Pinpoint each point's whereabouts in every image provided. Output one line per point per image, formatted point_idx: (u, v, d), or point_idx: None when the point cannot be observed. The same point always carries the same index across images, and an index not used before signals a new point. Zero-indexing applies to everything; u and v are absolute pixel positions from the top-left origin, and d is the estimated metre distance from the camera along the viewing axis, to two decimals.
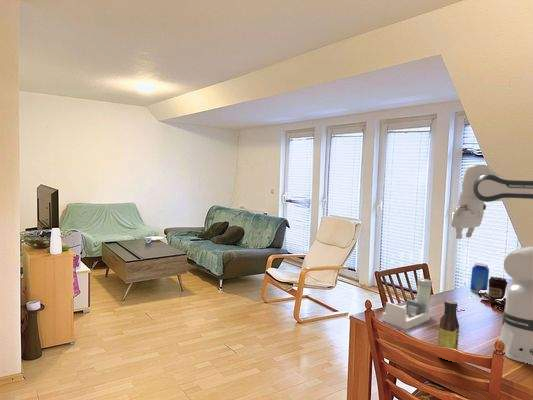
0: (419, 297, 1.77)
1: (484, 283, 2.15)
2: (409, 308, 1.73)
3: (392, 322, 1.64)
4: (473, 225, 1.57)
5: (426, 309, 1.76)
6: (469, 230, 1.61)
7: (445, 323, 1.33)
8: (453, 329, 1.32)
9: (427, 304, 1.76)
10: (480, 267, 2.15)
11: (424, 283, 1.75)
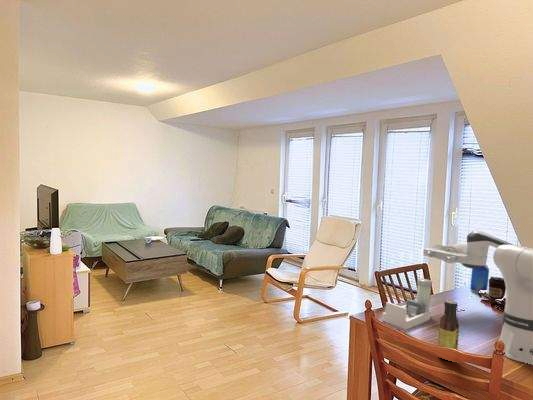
0: (419, 297, 1.77)
1: (484, 283, 2.15)
2: (409, 308, 1.73)
3: (392, 322, 1.64)
4: (437, 258, 1.90)
5: (426, 309, 1.76)
6: None
7: (445, 323, 1.33)
8: (453, 329, 1.32)
9: (427, 304, 1.76)
10: None
11: (424, 283, 1.75)
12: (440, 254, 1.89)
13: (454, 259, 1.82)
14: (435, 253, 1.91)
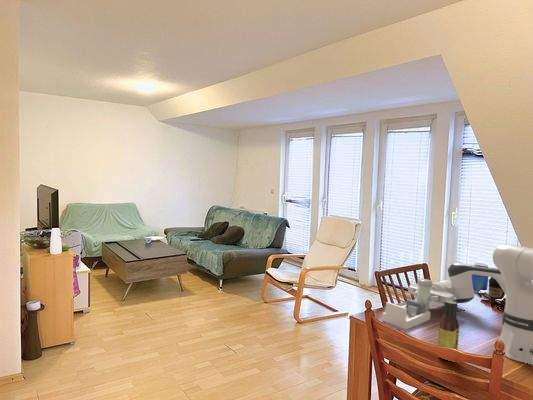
0: (419, 297, 1.77)
1: (484, 283, 2.15)
2: (409, 308, 1.73)
3: (392, 322, 1.64)
4: None
5: (426, 309, 1.76)
6: None
7: (445, 323, 1.33)
8: (453, 329, 1.32)
9: (427, 304, 1.76)
10: None
11: (424, 283, 1.75)
12: None
13: (436, 299, 1.76)
14: None
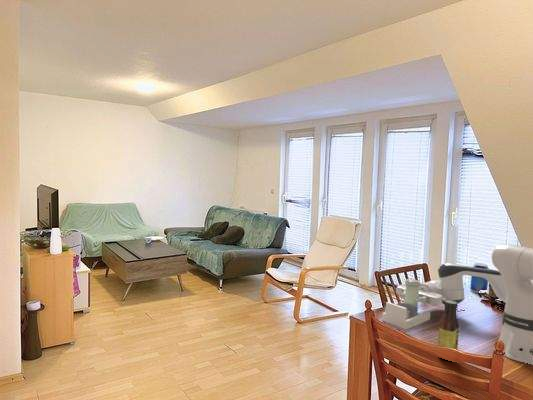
0: (407, 298, 1.70)
1: (484, 283, 2.15)
2: None
3: (392, 322, 1.64)
4: None
5: None
6: None
7: (445, 323, 1.33)
8: (453, 329, 1.32)
9: (415, 305, 1.70)
10: (480, 267, 2.15)
11: (412, 284, 1.68)
12: None
13: (425, 300, 1.70)
14: None
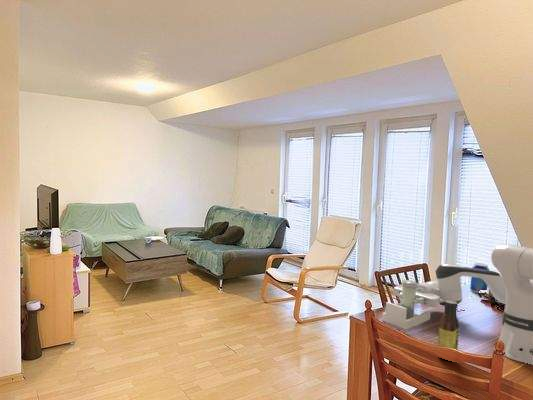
0: (404, 300, 1.68)
1: (484, 283, 2.15)
2: None
3: (392, 322, 1.64)
4: None
5: None
6: (401, 294, 1.74)
7: (445, 323, 1.33)
8: (453, 329, 1.32)
9: (412, 307, 1.67)
10: (480, 267, 2.15)
11: (409, 285, 1.66)
12: None
13: (422, 301, 1.67)
14: None
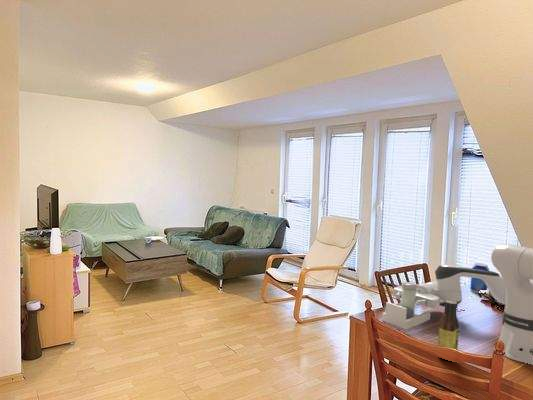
0: (404, 301, 1.68)
1: (484, 283, 2.15)
2: None
3: (392, 322, 1.64)
4: None
5: None
6: None
7: (445, 323, 1.33)
8: (453, 329, 1.32)
9: None
10: (480, 267, 2.15)
11: (408, 287, 1.66)
12: None
13: (424, 303, 1.66)
14: None
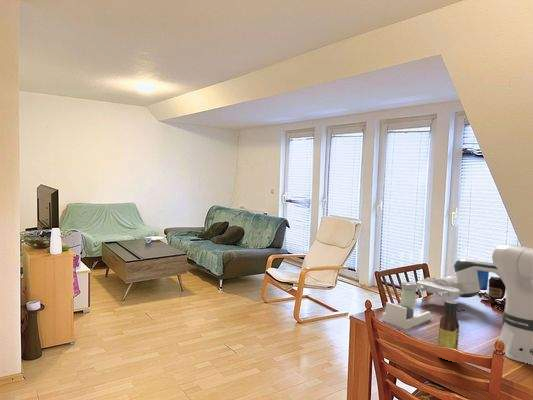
0: (404, 301, 1.68)
1: (484, 283, 2.15)
2: None
3: (392, 322, 1.64)
4: None
5: None
6: None
7: (445, 323, 1.33)
8: (453, 329, 1.32)
9: None
10: None
11: (408, 287, 1.66)
12: (432, 288, 1.89)
13: (446, 294, 1.81)
14: (427, 287, 1.90)
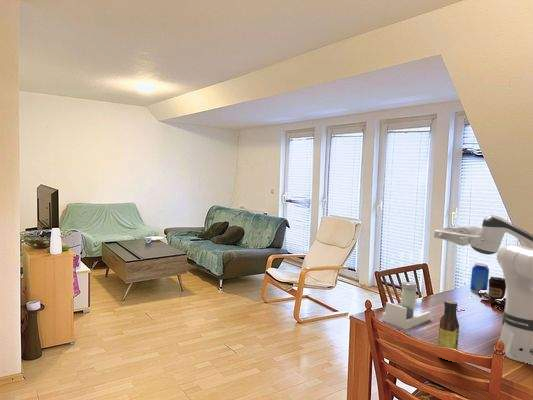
0: (404, 301, 1.68)
1: (484, 283, 2.15)
2: None
3: (392, 322, 1.64)
4: (449, 240, 1.81)
5: None
6: None
7: (445, 323, 1.33)
8: (453, 329, 1.32)
9: None
10: (480, 267, 2.15)
11: (408, 287, 1.66)
12: (452, 236, 1.79)
13: (467, 240, 1.72)
14: (447, 235, 1.81)
